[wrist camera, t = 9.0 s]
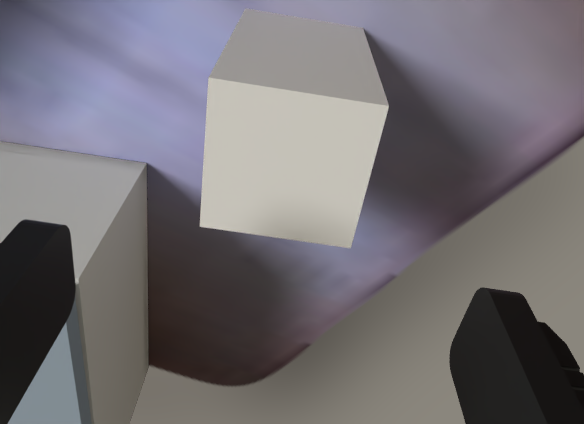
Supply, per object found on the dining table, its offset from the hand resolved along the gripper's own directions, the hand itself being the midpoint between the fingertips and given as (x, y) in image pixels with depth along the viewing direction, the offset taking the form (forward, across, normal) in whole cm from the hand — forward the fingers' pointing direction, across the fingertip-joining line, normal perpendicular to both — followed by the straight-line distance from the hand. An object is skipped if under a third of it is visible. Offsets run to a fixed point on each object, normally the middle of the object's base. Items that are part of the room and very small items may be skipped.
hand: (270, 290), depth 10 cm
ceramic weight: (+12, 0, 0) cm, 13 cm away
